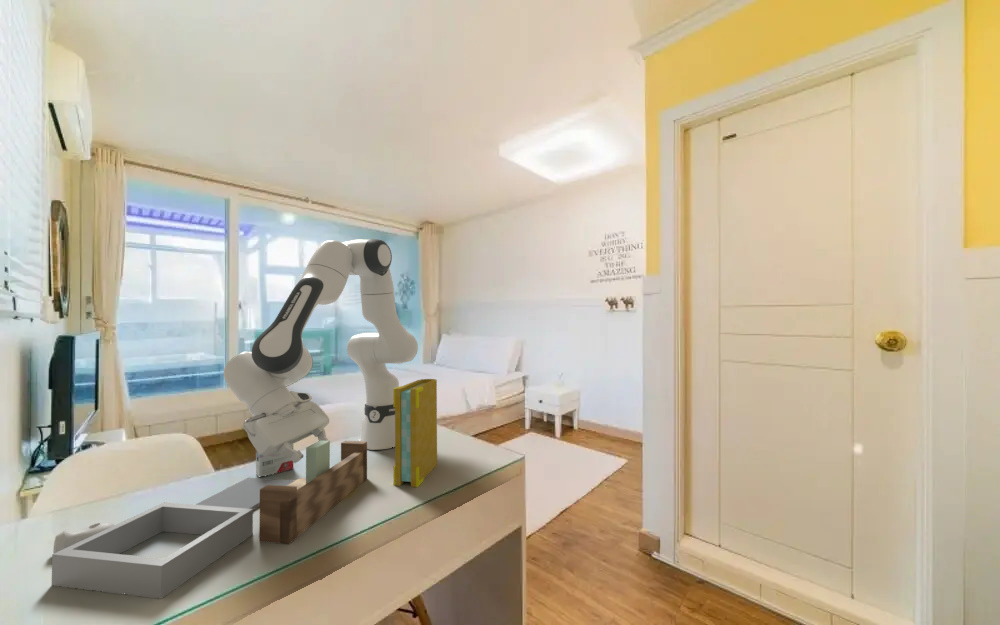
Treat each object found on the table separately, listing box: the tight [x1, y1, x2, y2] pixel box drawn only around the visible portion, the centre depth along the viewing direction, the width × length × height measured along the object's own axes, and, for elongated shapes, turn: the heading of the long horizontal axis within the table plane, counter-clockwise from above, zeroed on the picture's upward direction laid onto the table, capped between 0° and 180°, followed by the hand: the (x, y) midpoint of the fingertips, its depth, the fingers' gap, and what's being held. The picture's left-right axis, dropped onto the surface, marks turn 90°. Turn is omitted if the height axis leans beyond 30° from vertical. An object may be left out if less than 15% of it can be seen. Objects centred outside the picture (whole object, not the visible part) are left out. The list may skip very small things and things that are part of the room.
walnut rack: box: [258, 440, 368, 545], centre depth 83 cm, size 29×6×10 cm, turn 172°
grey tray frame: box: [51, 502, 254, 600], centre depth 65 cm, size 17×21×5 cm
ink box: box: [255, 444, 294, 478], centre depth 103 cm, size 9×5×12 cm, turn 134°
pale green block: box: [305, 440, 331, 484], centre depth 84 cm, size 5×2×14 cm, turn 172°
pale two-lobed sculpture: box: [52, 522, 116, 554], centre depth 69 cm, size 4×8×5 cm
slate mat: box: [194, 477, 296, 511], centre depth 86 cm, size 18×14×1 cm
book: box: [393, 378, 438, 488], centre depth 101 cm, size 17×7×25 cm, turn 168°
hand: (313, 452), depth 84 cm, fingers open, 8 cm apart
